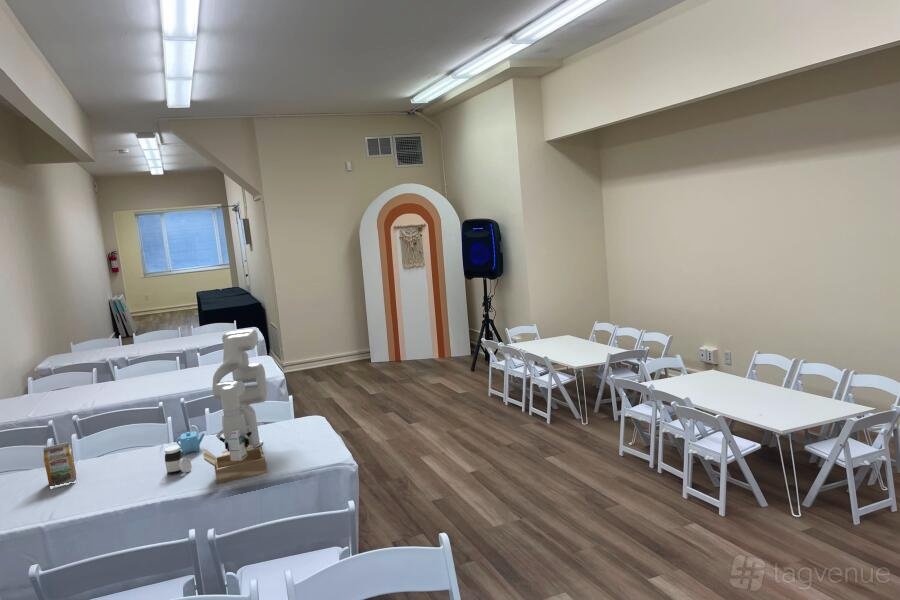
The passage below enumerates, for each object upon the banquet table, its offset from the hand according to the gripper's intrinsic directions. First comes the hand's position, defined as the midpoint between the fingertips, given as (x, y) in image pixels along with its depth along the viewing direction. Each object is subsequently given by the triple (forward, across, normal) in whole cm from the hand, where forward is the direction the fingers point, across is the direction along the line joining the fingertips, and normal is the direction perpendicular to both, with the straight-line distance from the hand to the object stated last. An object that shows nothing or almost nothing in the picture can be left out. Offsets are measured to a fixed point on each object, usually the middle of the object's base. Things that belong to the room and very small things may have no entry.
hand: (237, 448), depth 301 cm
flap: (+2, +12, 0) cm, 12 cm away
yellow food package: (+12, +79, -38) cm, 89 cm away
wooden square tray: (+12, 0, -3) cm, 12 cm away
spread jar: (+12, +27, -19) cm, 35 cm away
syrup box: (+5, 0, 0) cm, 5 cm away
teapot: (+12, +21, -44) cm, 50 cm away
